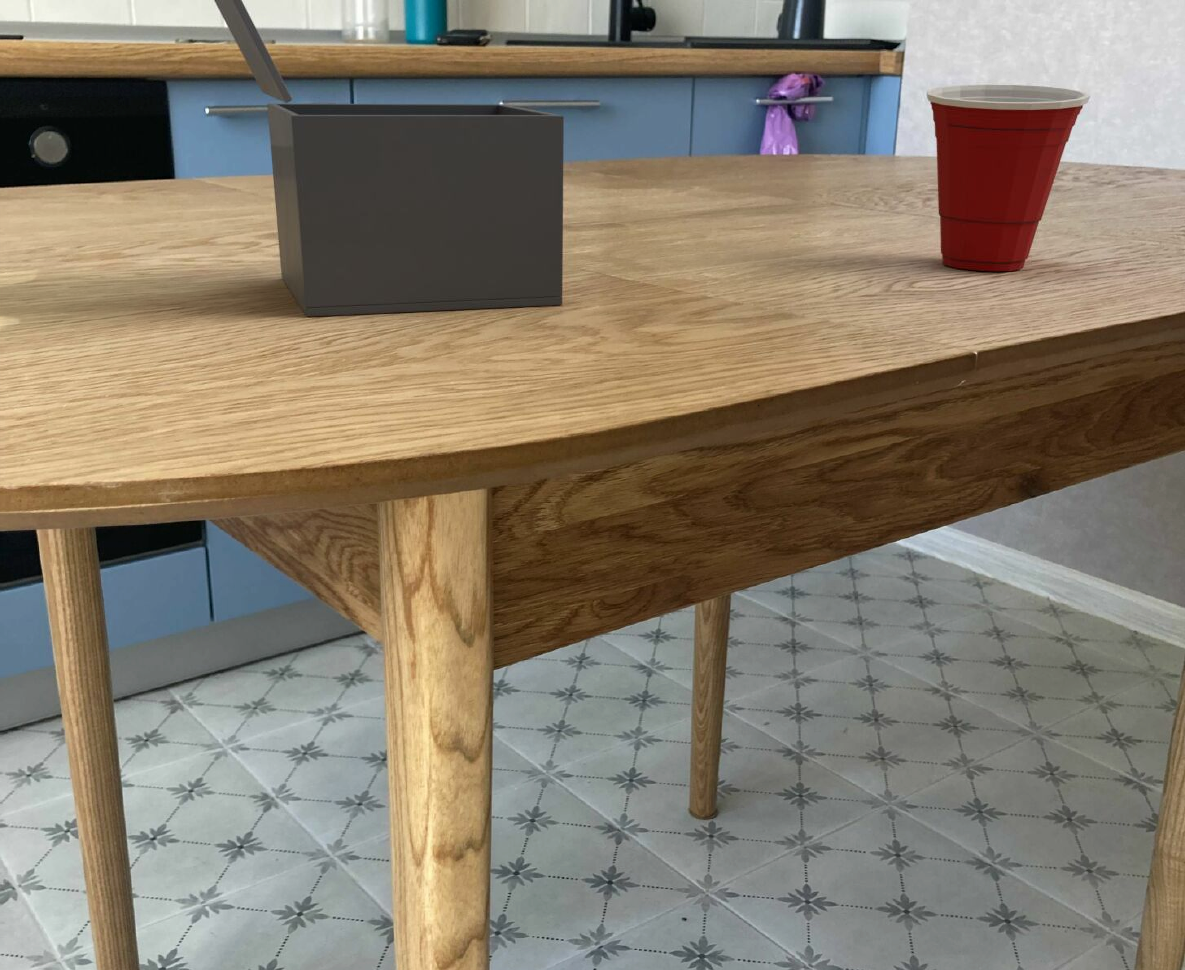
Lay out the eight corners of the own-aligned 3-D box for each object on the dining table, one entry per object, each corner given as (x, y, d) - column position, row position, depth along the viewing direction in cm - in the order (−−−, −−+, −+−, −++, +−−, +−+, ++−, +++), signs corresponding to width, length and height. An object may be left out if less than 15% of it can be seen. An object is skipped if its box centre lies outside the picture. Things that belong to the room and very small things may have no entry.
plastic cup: (894, 271, 88) (915, 86, 83) (917, 250, 97) (937, 82, 92) (1056, 283, 85) (1088, 91, 80) (1064, 261, 94) (1093, 87, 89)
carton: (306, 316, 70) (291, 115, 66) (281, 277, 81) (267, 103, 77) (562, 305, 75) (564, 115, 70) (505, 269, 86) (503, 104, 81)
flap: (292, 99, 66) (286, 103, 66) (268, 90, 77) (262, 93, 77) (217, -47, 62) (210, -43, 62) (203, -35, 73) (197, -32, 73)
